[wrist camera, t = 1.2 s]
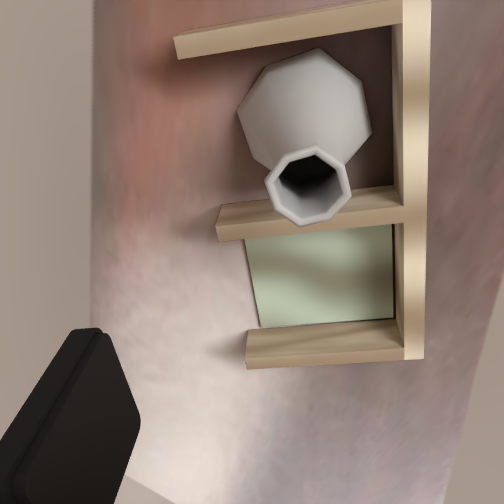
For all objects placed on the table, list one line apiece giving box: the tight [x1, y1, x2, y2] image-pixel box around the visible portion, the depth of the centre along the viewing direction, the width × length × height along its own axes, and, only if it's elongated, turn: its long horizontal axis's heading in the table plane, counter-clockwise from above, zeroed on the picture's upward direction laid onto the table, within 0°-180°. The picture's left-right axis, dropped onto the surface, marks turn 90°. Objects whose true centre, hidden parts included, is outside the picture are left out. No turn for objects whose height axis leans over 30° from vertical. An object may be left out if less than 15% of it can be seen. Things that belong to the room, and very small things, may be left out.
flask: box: [237, 48, 373, 228], centre depth 23 cm, size 7×7×10 cm
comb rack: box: [173, 0, 431, 370], centre depth 28 cm, size 21×12×3 cm, turn 9°
